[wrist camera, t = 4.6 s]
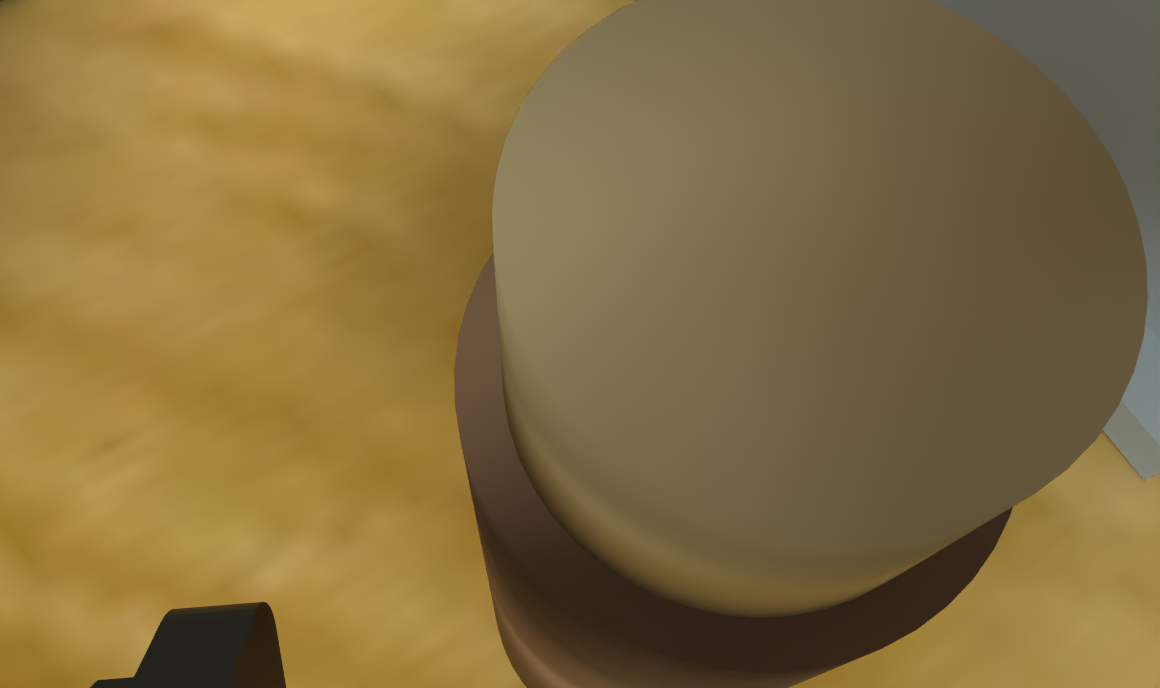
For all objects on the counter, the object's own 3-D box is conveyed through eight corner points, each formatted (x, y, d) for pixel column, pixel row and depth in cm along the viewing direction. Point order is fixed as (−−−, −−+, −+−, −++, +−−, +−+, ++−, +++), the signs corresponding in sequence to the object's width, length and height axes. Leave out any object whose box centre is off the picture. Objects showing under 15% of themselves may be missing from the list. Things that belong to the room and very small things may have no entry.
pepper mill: (446, 541, 18) (294, 87, 6) (674, 417, 19) (891, -156, 7) (582, 798, 16) (705, 808, 5) (821, 645, 17) (1385, 357, 6)
